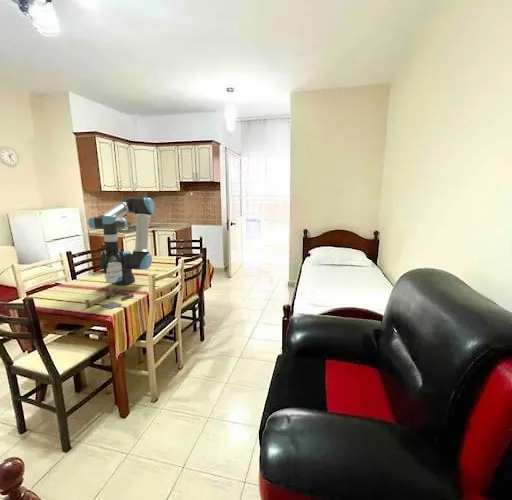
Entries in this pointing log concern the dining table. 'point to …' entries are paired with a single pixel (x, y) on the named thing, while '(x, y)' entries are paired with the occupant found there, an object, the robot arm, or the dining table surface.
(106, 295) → the brass lever
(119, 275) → the ink box
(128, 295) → the walnut cradle
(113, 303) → the charcoal mat
